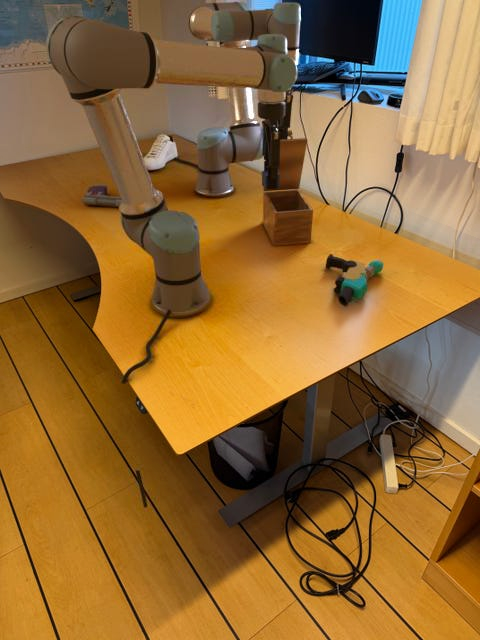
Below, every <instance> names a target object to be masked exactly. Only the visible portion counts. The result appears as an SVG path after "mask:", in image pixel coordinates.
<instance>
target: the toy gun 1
mask: <svg viewBox="0 0 480 640" xmlns="http://www.w3.org/2000/svg"><path fill="white" fill-rule="evenodd" d="M108 189H109V188H108V185H106V184H94V185H91V186H89V187H88V189H87V191H86V192H87V193H86V194H84V195H83V198H82V200H81V202H82V204H83V205H87V206H89V205H90V206H101V207H112V208H113V207H114V208H119V205H120V203H121V201H122V199H121V197H120V196H113V195H110V196H109V195H108V192H109V190H108Z"/></svg>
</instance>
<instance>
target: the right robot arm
mask: <svg viewBox="0 0 480 640" xmlns="http://www.w3.org/2000/svg"><path fill="white" fill-rule="evenodd" d="M301 22H302V17H301V5H300V3H298V2H276V3H275V4H274V6H273V8H264V9H253V8H252V7H251V6H250V5H249V4H248V2H244V1H243V2H242V1H240V2H239V1H232V2H230V1H229V2H206V3H202V4H199V5H197V6H195V7H194V8H192V10H191V11H190V13H189V15H188V17H187V27H188V31H189V32H190V34H191V35H192V36H193V37H194V38H195V39H197V40H200V41H204V42H217V43H218V44H219V47H224V48H242V47H251V44H252V41H258V37H259V36H260V35H264V34H281V35H284V36H285V37H286V39H287V53H288V55H287V56H290V57H291V58H292V59H293V60H294V61H295V63H296V66H297V65H298V63H299V57H300V56H301V53H300V52H299V50H300V48H299V47H300V33H301ZM298 70H299V69H298V67H297V73H298V72H299V71H298ZM297 80H298V75H297V76H296V81H297ZM228 92H229V100H230V101H229V102H230V108H231V109H230V110H231V117H232V122H231V124H230V125H229V130H228V128H227V127H225V126H219V127H218V126H213V127H209V128H206V129H204V130H202V131H199V133H198V134H197V137H196V149H197V163H198V164H197V163H194V162H192V161H188V160H184V159H182V158H178V157H175V158H174V159H173V160H175V161H178V162H181V163H183V164H188V165H191V166H193V167H196V168H198V175H197V179H196V182H195V190H194V191H195V194H196V195H198V196H200V197H204V198H206V199H207V198H208V199H209V198H210V199H217V198H219V199H220V198H225V197H227V196H230V195H232V194H234V191H235V187H234V182H233V180H232V177H231V174H230V171H229V168H230V167H229V166H230V164H237V163H245V162H253V161H259V160H261V159H262V158H264V156H263V155H262V153H263V128H262V126H261V123H260V121H259V120H258V119H257V118H256V113H255V104H254V95H253V94H254V93H253V89H252V88H234V87H228ZM285 93H286V96H285V100H284V102H285V103H286V104H285V116H284V117H283V118H280V119H278V125H280V131H281V139H289V137H288V130H289V129H290V128H291V122H292V121H291V119H292V111H293V110H292V108H293V101H294V94H293V88H292V87H291V88H290V89H289V90H288V91H286V92H285ZM281 139H280V140H281Z"/></svg>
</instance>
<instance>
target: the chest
mask: <svg viewBox="0 0 480 640" xmlns="http://www.w3.org/2000/svg"><path fill="white" fill-rule="evenodd" d="M262 193H263V196H262V197H263V198H262V224H263V226H264V228H265V230H266V232H267V235H268V237H269V239H270V241H271V243H272V245H273V246H274V247H275V246H276V247H277V246H287V245H289V246H290V245H299V244H308V243H309V244H311V241H312V240H311V239H312V231H313V219H314V209H313V208H312V206H311V205H310V203H309V202H308V201H307V199H306V198H305V197H304V195H303V194H302V192H301V191H300V189H290V190H276V191H263V192H262Z"/></svg>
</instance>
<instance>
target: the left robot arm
mask: <svg viewBox="0 0 480 640" xmlns="http://www.w3.org/2000/svg"><path fill="white" fill-rule="evenodd" d="M256 41H257V42H256V44H255V45H253V46H249V47H242V48H224V47H220V46H216V45H215V46H214V45H205V44H197V43H188V42H180V41H179V42H178V41H170V40H163V39H161V40H160V39H154V38H153V36H152V35H151V34H150V33H149V32H145V31H138V30H132V29H128V28H125V27H121V26H118V25H115V24H113V23H109V22H106V21H103V20H99V19H93V18H85V17H83V16H79V15H73V16H67V17H63V18H61V19H59V20H57V21H56V22H55V23H53V25H52V26H51V27H50V29H49V31H48V33H47V37H46V41H45V49H46V55H47V58H48V60H49V62H50V64H51V66H52V67H53V69H54V70H55V72H56V73H57V74H59V75H60V76H61V78H62V80H63V83H64V85H65V87H66V89H67V91H68V94H69V96H70V98H71V101H74V102H76V103H78V104H80V105H81V106H82V109H83V111H84V113H85V115H86V118H87V121H88V122H89V126H90V127H91V130H92V132H93V135H94V137H95V139H96V143H97V145H98V147H99V150H100V151H101V153H102V156H103V159H104V161H105V163H106V165H107V168H108V171H109V173H110V175H111V178H112V180H113V183H114V185H115V187H116V189H117V193H118V195H119V197H121V199H122V201H121V203H120V205H119V207H118V210H119V212H120V224H121V227H122V230H123V231H124V233H125V234H126V236H127V237H128V239H129V240H131V241H132V242H133V243H134V244H136V245H137V246H138V247H140V248H141V249H142V250H143V251H144V252H146V253H147V254H148V255H149V256H150V257H151V258H152V260H153V261H152V262H153V268H154V274H155V275H154V276H155V281H154V284H153V290H152V294H151V305H152V308H153V310H154V311H155V312H156V313H157V314H159V315H160V316H163V317H162V319H161V321H160V323H159V324H158V326H157V328H156V330H155V331H154V333H153V335H152V336H151V338H149V340H148V341H147V342H146V344H145V352H146V357H145V358H144V359H143V360H142V361H140V362H138V363H136V364H134V365H133V366H131V367H129V369H127V370H126V372H125V373H124V375H123V376H122V379H121V384H123V385H125V384H126V383H127V381H128V379H129V377H130V375H131V374H132V373H134V372H135V371H136V370H137V369H139V368H141V367H144V366H145V365H146V364H147V363H149V361H150V360H151V358H152V351H151V345H152V344H153V343H154V342H155V340H156V339H158V336H159V334H161V333H160V332H161V331H162V329H163V327H164V326H165V324H166V322H167V320H168V318H171V319H183V318H185V319H186V318H190V317H194V316H196V315H199V314H201V313H202V312H204V311H205V310H207V308H208V307H209V306H210V303H211V292H210V290H209V288H208V285H207V282H206V281H205V278H204V277H203V275H202V262H201V261H202V259H201V247H200V246H201V243H200V239H201V236H200V235H201V234H200V230H199V226H198V222H197V220H196V218H194V217H193V216H192V215H190V213H187V212H185V211H178V210H174V209H172V210H171V209H170V210H169V208H168V205H167V202H166V200H165V196H164V194H163V192H162V191H160V190H158V189H156V188H155V187H154V185H153V181H152V179H151V176H150V173H149V170H147V167H146V164H145V162H144V159H143V158H144V156H143V153H142V151H141V148H140V144H139V142H138V140H137V137H136V134H135V132H134V128H133V125H132V123H131V120H130V118H129V114H128V111H127V108H126V106H125V104H124V100H123V97H122V95H121V90H122V89H146V90H147V89H150V88H152V87H153V86H154V84H162V85H179V86H196V87H197V86H198V87H199V86H200V87H217V88H229V87H234V88H252V90H253V89H254V90H256V91H257V93H256V94H257V101H258V102H257V117H258V118H259V119H262V121H261V125H262V126H261V127H262V128H263V153H262V155H263V160H264V161H263V171H268V190H269V189H277V168H278V167H280V139H281V131H280V125H278V119H280V118H283V117H284V116H285V104H286V103H285V102H284V100H285V96H286V93H285V92H286V91H288V90H289V89H290V88H291V89H292V88H293V86H294V85H295V83H296V81H297V80H296V76H297V77H298V72H297V68H298V67H297V65H296V63H295V61H294V60H293V59H292V58H291V57H290V56H287V55H288V53H287V39H286V37H285V36H284V35H281V34H264V35H260V36H259V37H258V40H256ZM134 471H135V474H136V478H137V483H138V486H139V492H140V495H141V499H142V504H143V508H145V509H146V508H147V507H148V502H147V496H146V492H145V487H144V483H143V479H142V475H141V471H140V470H139V469H138V470H136V469H135V470H134Z"/></svg>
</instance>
